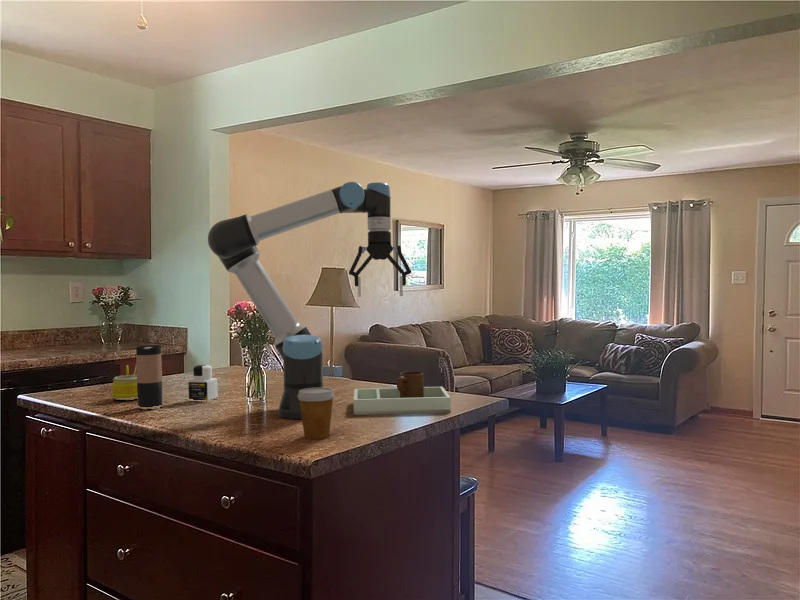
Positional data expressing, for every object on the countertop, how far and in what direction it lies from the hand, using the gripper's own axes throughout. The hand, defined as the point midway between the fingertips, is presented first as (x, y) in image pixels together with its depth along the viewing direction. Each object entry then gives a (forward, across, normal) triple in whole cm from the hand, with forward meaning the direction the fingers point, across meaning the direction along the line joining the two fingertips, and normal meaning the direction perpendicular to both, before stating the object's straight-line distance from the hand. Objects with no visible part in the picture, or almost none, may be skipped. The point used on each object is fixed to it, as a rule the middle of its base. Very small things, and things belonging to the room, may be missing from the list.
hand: (380, 296), depth 212 cm
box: (+35, +6, -9) cm, 36 cm away
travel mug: (+35, -75, +1) cm, 83 cm away
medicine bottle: (+35, -61, +13) cm, 71 cm away
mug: (+34, +8, -9) cm, 36 cm away
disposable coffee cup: (+35, -18, -45) cm, 60 cm away
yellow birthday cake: (+35, -88, +20) cm, 97 cm away
